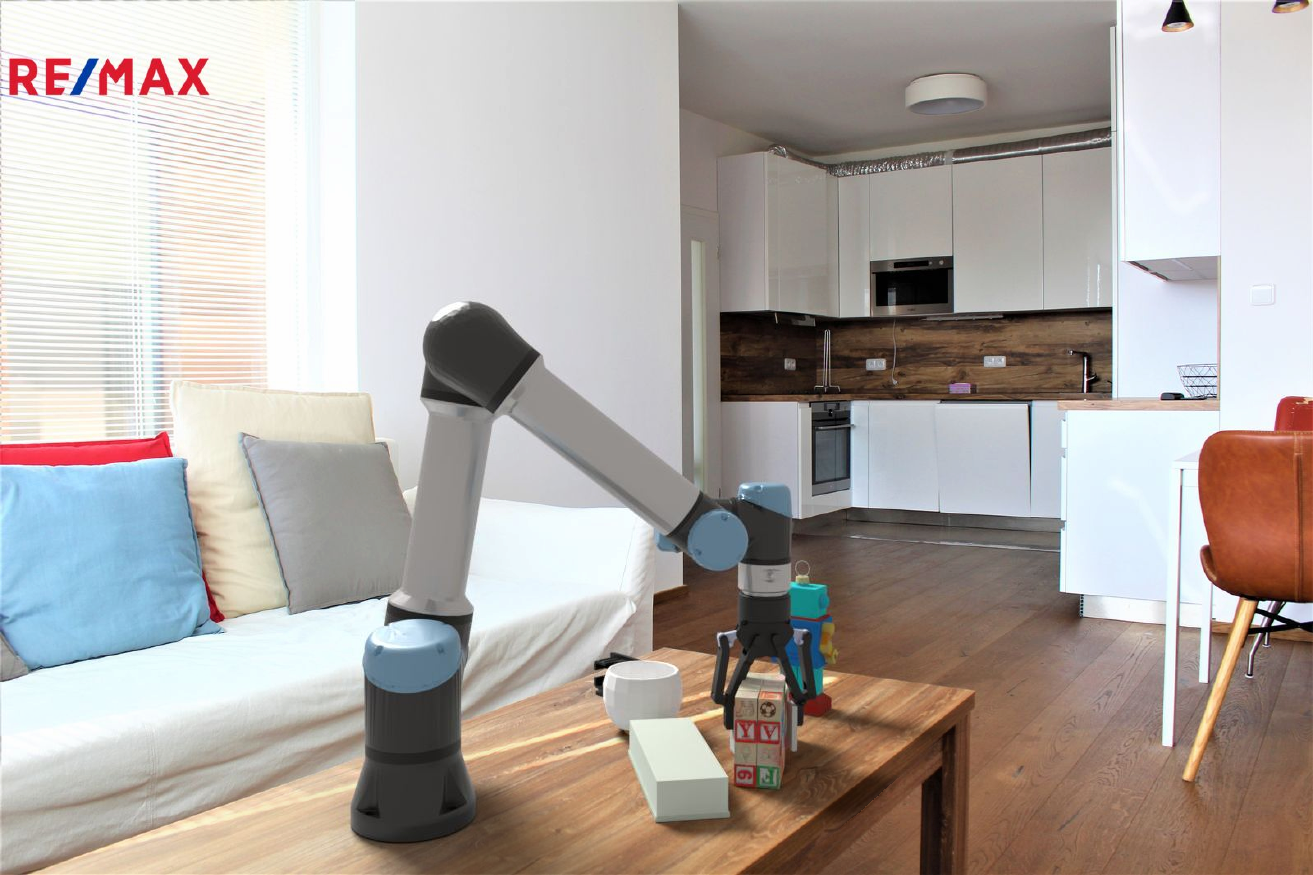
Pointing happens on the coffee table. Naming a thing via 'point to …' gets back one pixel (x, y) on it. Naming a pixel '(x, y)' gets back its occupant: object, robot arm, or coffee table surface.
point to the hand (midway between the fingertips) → (763, 749)
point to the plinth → (677, 770)
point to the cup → (641, 692)
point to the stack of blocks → (760, 730)
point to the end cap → (606, 664)
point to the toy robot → (812, 617)
